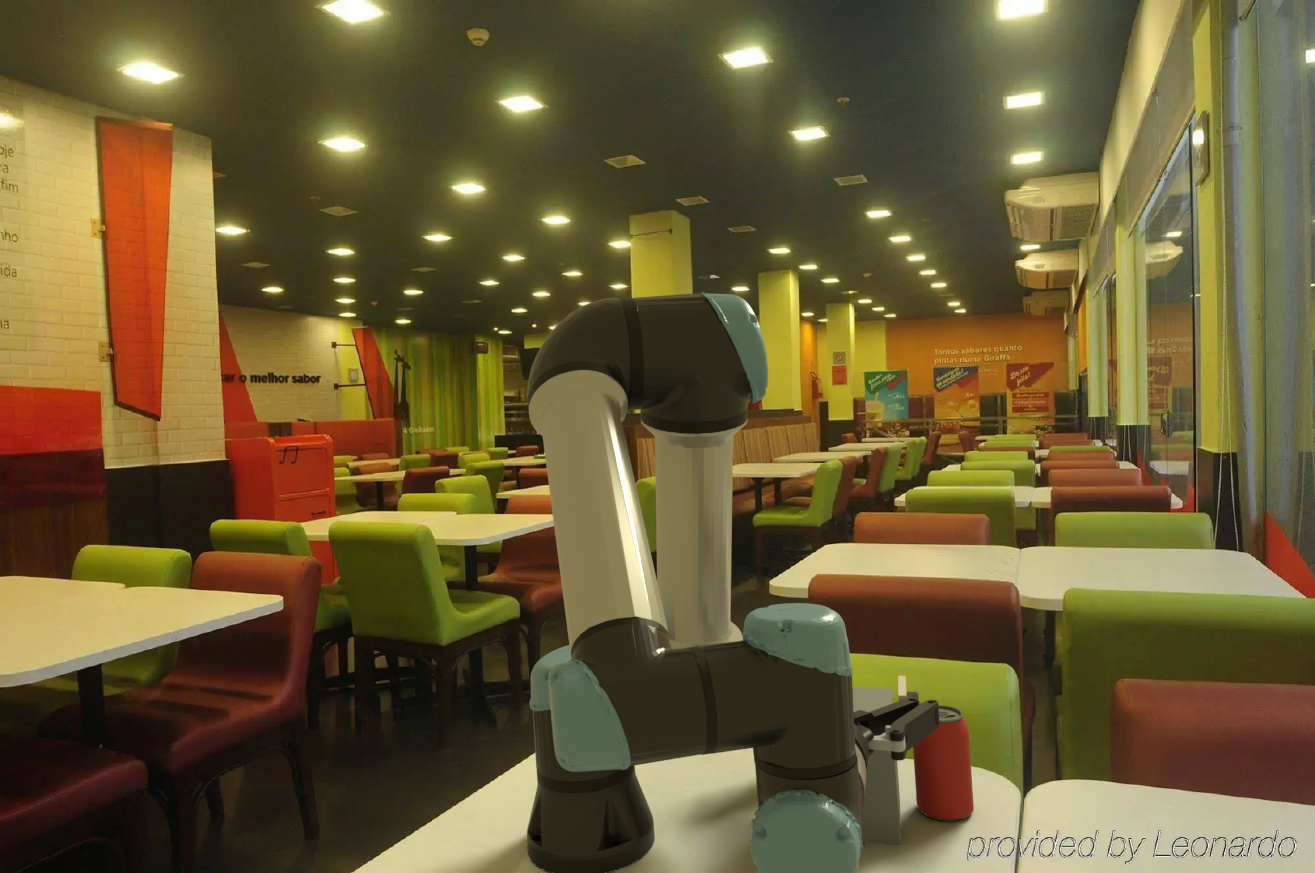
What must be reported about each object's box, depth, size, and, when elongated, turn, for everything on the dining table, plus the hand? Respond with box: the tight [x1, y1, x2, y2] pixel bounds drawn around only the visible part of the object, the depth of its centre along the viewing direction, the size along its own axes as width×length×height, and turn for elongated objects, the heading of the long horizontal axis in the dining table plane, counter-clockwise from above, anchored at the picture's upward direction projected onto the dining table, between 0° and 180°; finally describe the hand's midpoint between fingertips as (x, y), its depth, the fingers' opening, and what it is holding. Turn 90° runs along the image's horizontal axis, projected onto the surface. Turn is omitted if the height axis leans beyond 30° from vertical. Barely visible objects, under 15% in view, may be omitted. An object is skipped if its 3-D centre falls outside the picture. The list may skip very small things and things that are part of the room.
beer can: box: [912, 704, 975, 822], centre depth 103 cm, size 7×7×12 cm
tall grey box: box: [852, 687, 901, 845], centre depth 103 cm, size 11×11×14 cm
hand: (838, 687), depth 93 cm, fingers open, 13 cm apart
